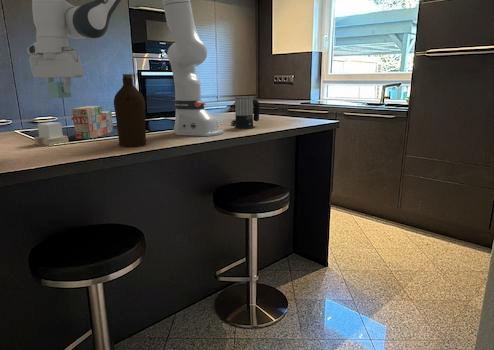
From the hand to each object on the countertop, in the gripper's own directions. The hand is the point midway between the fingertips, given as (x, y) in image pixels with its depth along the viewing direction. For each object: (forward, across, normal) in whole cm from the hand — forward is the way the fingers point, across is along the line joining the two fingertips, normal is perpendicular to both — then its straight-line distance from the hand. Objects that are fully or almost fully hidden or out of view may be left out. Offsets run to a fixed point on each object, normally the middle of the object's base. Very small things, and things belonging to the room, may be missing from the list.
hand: (59, 92), depth 120 cm
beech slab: (+20, +16, -6) cm, 26 cm away
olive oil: (+20, -14, -17) cm, 29 cm away
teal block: (+2, 0, 0) cm, 2 cm away
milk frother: (+20, -27, -80) cm, 87 cm away
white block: (+17, +15, -6) cm, 23 cm away
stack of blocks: (+20, +17, -28) cm, 38 cm away
